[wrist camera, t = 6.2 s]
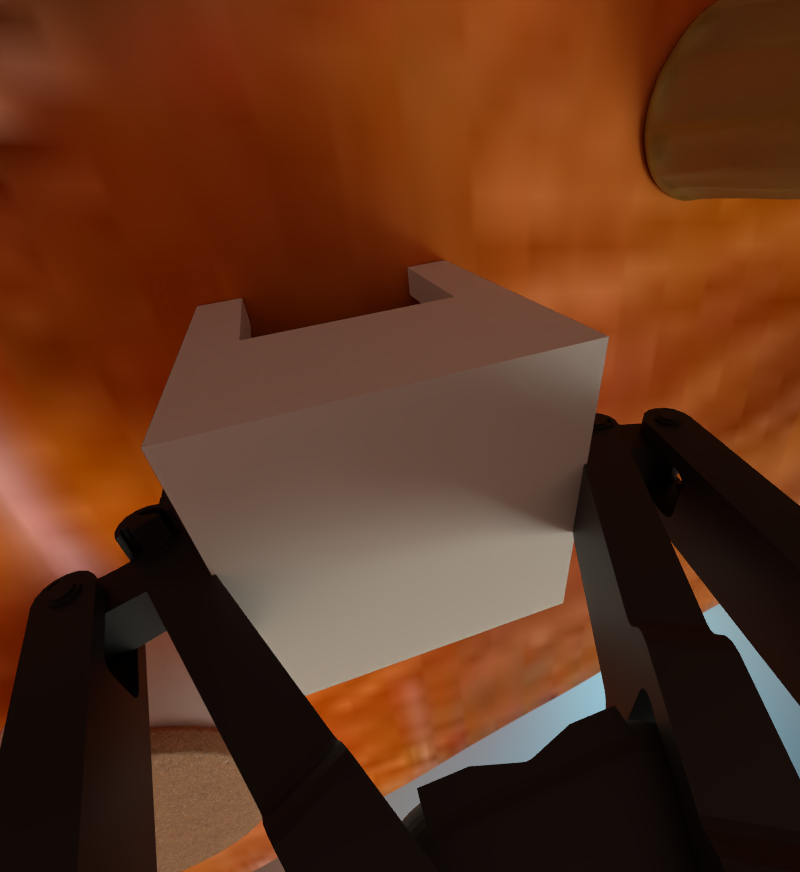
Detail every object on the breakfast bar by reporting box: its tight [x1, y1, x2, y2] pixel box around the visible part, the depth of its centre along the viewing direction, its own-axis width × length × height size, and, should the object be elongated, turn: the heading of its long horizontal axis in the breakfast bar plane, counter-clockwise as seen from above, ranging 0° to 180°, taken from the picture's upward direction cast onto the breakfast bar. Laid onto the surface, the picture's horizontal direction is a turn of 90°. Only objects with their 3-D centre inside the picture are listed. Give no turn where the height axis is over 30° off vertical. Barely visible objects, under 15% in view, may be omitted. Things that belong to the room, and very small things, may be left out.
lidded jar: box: [0, 631, 262, 872], centre depth 18 cm, size 11×11×9 cm
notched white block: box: [141, 260, 609, 696], centre depth 14 cm, size 9×9×9 cm
